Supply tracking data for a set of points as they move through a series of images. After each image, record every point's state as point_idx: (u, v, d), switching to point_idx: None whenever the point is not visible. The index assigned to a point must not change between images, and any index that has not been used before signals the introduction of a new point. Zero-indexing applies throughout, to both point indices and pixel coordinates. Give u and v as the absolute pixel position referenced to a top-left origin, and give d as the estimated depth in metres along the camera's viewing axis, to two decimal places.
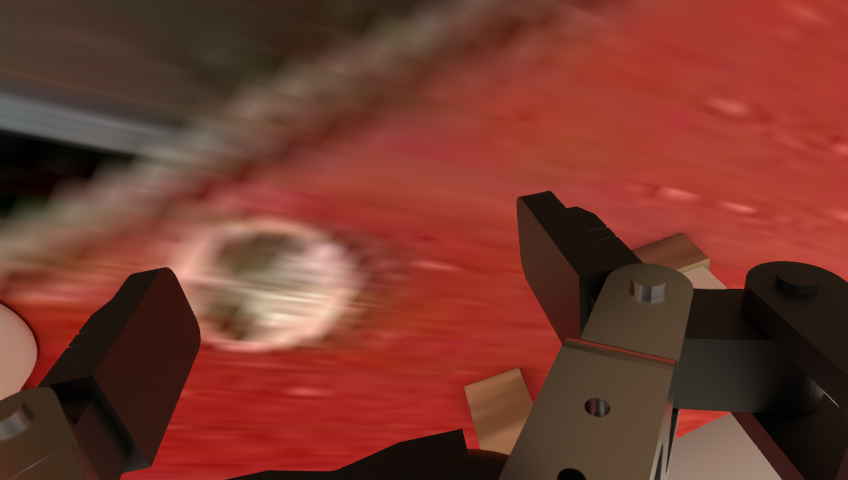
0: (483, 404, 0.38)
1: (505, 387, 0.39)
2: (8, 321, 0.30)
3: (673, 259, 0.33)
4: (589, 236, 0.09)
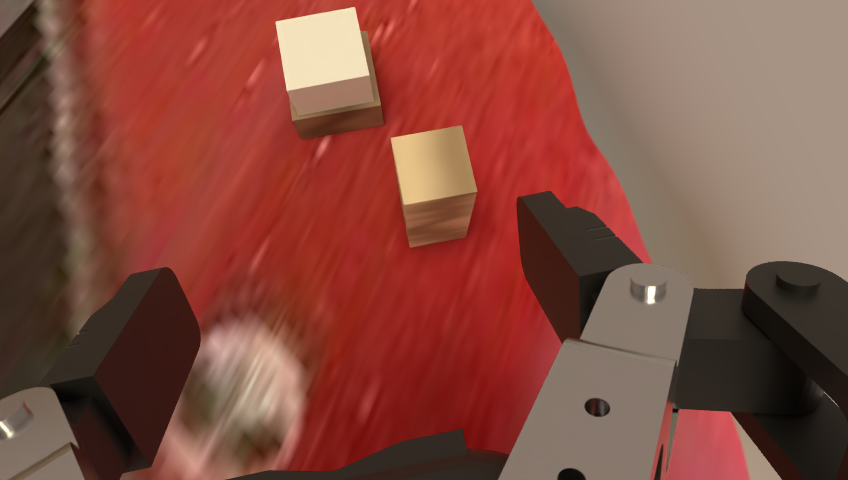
0: None
1: None
2: None
3: None
4: (589, 236, 0.09)
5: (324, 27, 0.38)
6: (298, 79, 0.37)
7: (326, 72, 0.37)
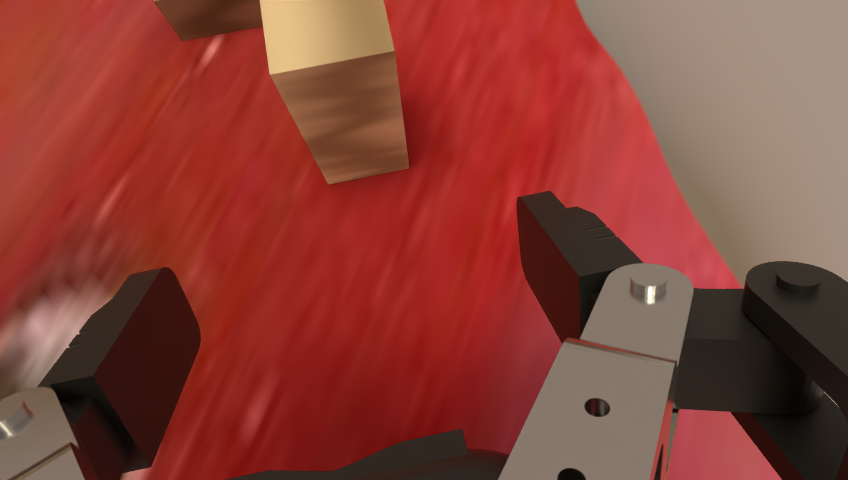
0: None
1: None
2: None
3: None
4: (589, 236, 0.09)
5: None
6: None
7: None
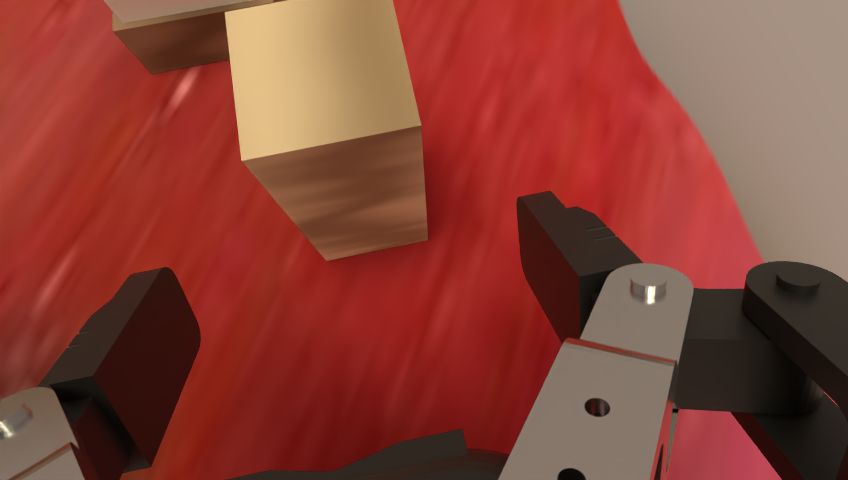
0: None
1: None
2: None
3: None
4: (589, 236, 0.09)
5: None
6: None
7: None
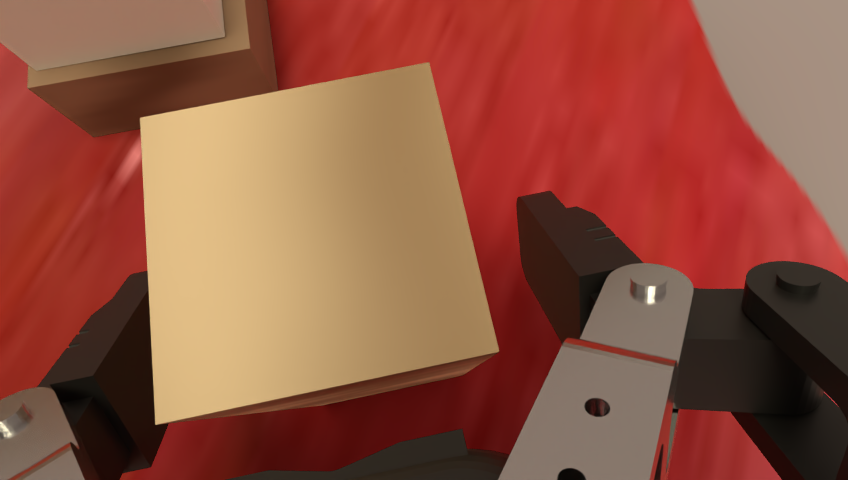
0: None
1: None
2: None
3: None
4: (589, 236, 0.09)
5: None
6: None
7: None
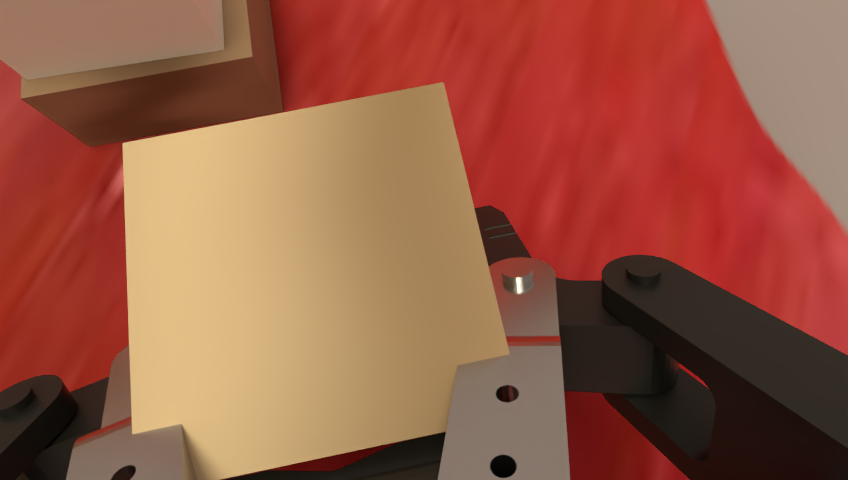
0: None
1: None
2: None
3: None
4: (484, 233, 0.10)
5: None
6: None
7: None
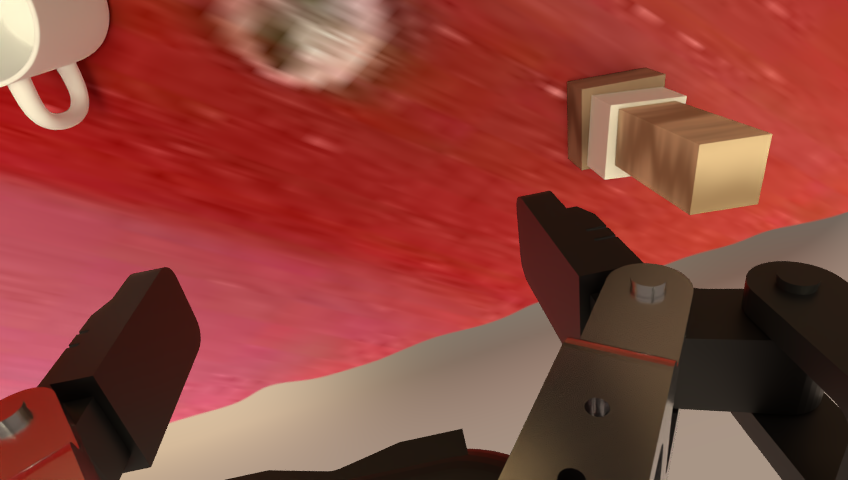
0: (647, 113, 0.37)
1: (666, 107, 0.38)
2: None
3: (638, 75, 0.42)
4: (589, 236, 0.09)
5: None
6: None
7: None
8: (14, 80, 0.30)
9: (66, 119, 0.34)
